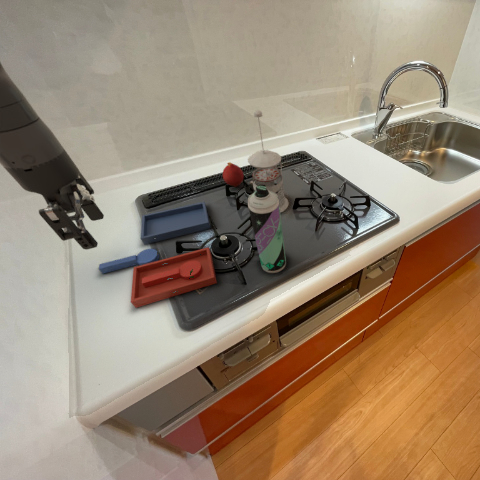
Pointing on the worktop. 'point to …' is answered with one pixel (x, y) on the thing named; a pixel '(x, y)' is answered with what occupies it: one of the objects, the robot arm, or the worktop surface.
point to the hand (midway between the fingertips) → (95, 232)
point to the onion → (233, 174)
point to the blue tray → (174, 222)
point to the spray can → (267, 229)
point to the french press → (268, 170)
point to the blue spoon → (130, 261)
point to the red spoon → (174, 274)
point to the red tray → (166, 289)
